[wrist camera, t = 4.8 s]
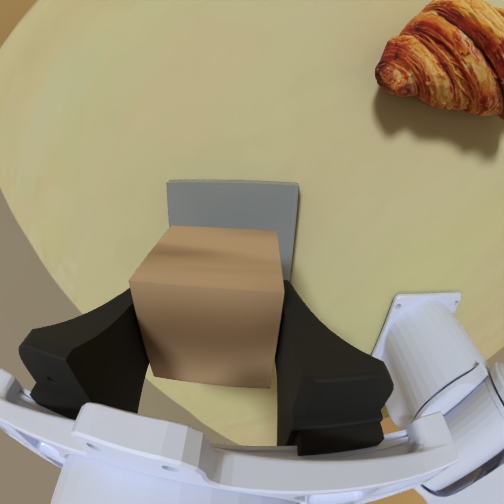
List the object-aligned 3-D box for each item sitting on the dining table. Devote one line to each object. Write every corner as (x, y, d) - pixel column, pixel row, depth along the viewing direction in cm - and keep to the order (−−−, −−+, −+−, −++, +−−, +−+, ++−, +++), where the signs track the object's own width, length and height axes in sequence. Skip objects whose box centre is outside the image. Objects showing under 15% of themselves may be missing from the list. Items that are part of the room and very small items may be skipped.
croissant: (485, 24, 10) (507, -20, 3) (546, 103, 9) (584, 72, 2) (331, 63, 15) (326, -19, 8) (416, 179, 14) (476, 132, 6)
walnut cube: (267, 315, 15) (269, 388, 10) (179, 308, 15) (153, 376, 10) (276, 231, 13) (284, 292, 8) (171, 225, 13) (128, 280, 8)
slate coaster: (286, 291, 20) (287, 298, 19) (179, 286, 20) (176, 292, 19) (297, 183, 16) (299, 185, 16) (170, 180, 16) (166, 182, 16)
